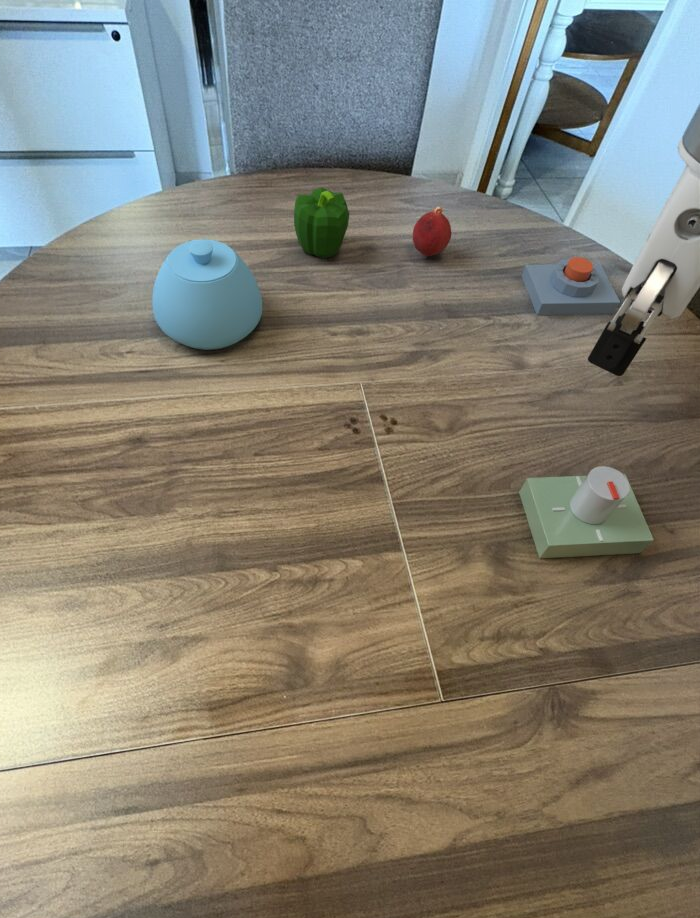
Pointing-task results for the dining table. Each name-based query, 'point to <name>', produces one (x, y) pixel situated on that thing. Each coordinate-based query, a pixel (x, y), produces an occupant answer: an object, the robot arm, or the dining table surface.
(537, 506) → the tap panel
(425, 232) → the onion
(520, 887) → the dining table surface
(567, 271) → the stop button
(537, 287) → the button box
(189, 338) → the sugar bowl
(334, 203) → the bell pepper
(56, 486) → the dining table surface
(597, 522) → the tap knob
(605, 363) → the robot arm
